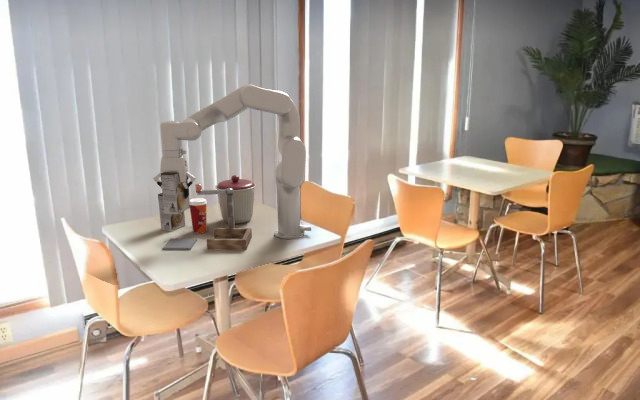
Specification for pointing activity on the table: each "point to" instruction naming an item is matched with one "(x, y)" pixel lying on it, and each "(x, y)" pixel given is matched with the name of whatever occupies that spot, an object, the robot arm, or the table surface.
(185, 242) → the mat
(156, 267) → the table surface
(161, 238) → the table surface
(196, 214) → the paper cup
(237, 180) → the canister
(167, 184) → the coffee box
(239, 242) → the wooden planter box
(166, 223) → the coffee box
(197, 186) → the lever
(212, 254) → the table surface
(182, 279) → the table surface
